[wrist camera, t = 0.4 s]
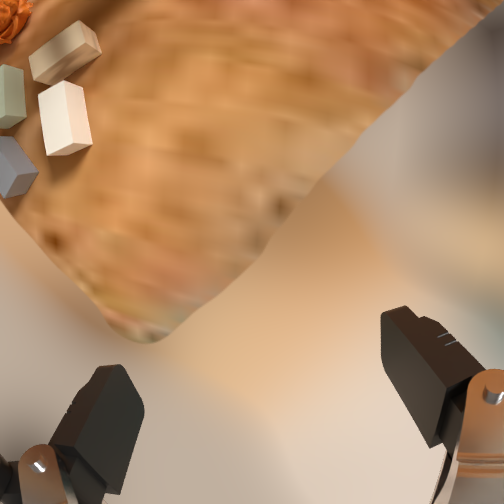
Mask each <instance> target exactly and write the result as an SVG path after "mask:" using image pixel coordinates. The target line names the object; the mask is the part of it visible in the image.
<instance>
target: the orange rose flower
mask: <svg viewBox="0 0 504 504" xmlns="http://www.w3.org/2000/svg"><path fill="white" fill-rule="evenodd" d="M26 2H27V0H0V44H3V43H8V44H11V43H12V42H11V40H10V39H12V38H13V37H14V36H15V35H17V34H18V33H19V32H20V30H21V29H22V28H23V26H24V25H25V23H26V21H27V18H28V16H30V15H31V13H32V12H31V13H30V11H29V8H30V7H32V6H33V3H32V4H31V3H30V2H29V3H26Z"/></svg>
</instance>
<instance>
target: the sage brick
mask: <svg viewBox="0 0 504 504" xmlns="http://www.w3.org/2000/svg"><path fill="white" fill-rule="evenodd" d="M25 118H27V114H26V104H25V92H24V75H23V70H22V69H18V68H15V67H12V66H9V65H6V64H3V65H1V66H0V128H3V129H9V128H11V127H12V126H14V125H15V124H17V123H19V122H20V121H22V120H23V119H25Z"/></svg>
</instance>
